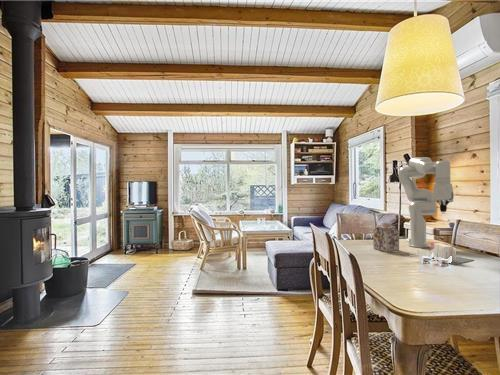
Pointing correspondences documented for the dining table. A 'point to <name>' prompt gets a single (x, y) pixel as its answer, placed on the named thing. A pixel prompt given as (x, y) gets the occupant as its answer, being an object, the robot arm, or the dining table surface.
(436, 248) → the ink cartridge box
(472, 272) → the dining table surface
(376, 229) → the decorative jar
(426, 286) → the dining table surface
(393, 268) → the dining table surface
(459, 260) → the mat
